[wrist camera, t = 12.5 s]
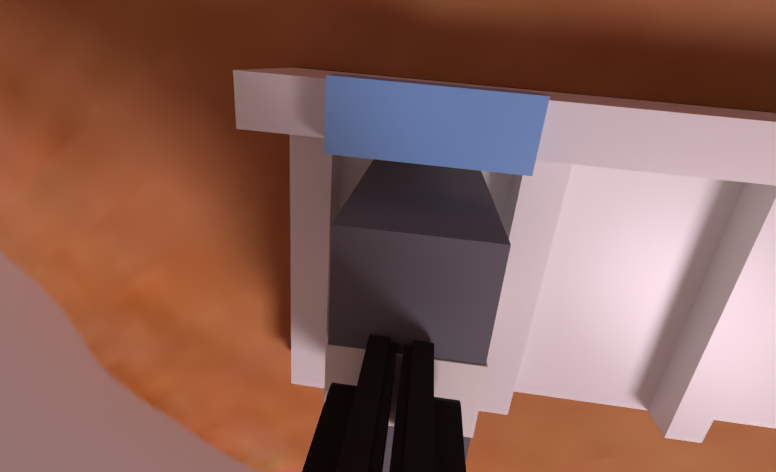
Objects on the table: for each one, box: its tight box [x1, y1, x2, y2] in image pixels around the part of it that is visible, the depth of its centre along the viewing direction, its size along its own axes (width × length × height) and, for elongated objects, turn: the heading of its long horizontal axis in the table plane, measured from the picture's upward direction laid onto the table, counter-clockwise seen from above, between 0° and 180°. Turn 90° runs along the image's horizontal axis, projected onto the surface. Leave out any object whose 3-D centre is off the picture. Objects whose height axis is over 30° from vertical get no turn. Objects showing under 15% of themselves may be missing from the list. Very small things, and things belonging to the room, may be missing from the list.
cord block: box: [324, 159, 511, 472], centre depth 14 cm, size 9×4×7 cm, turn 175°
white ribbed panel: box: [233, 67, 776, 443], centre depth 14 cm, size 13×26×6 cm, turn 85°
